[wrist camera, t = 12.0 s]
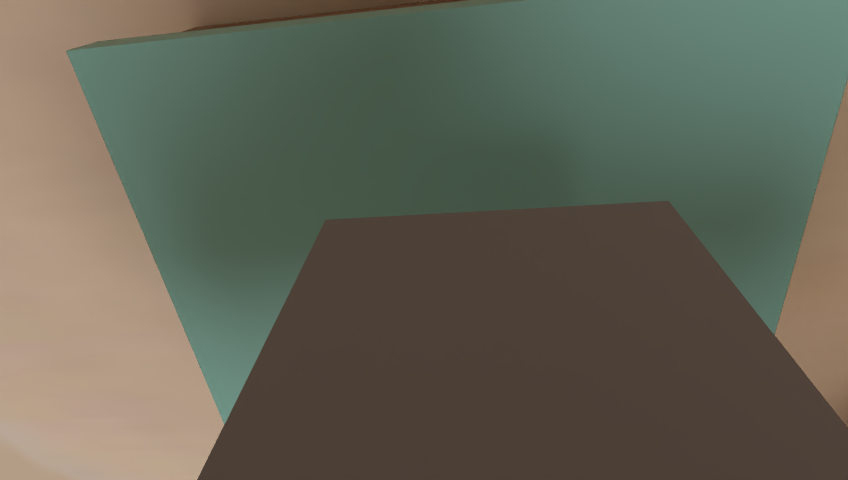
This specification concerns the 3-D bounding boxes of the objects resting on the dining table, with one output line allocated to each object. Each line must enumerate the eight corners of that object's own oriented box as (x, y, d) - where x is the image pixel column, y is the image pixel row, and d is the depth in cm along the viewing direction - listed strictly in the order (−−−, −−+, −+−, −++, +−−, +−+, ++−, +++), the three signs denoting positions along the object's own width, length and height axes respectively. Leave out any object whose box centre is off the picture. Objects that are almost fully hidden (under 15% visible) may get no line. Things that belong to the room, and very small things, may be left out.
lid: (729, 397, 17) (747, 427, 16) (244, 414, 19) (231, 442, 18) (840, -41, 11) (881, -39, 10) (99, 41, 12) (66, 50, 11)
